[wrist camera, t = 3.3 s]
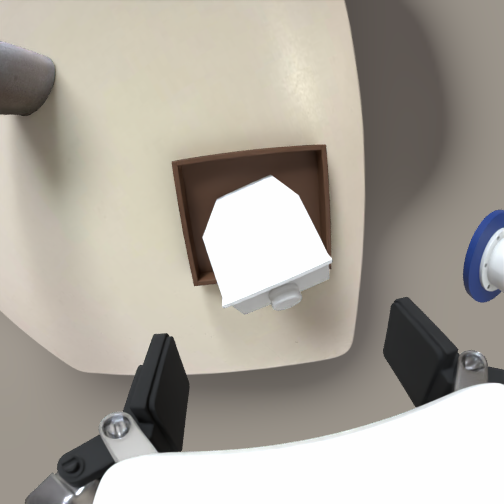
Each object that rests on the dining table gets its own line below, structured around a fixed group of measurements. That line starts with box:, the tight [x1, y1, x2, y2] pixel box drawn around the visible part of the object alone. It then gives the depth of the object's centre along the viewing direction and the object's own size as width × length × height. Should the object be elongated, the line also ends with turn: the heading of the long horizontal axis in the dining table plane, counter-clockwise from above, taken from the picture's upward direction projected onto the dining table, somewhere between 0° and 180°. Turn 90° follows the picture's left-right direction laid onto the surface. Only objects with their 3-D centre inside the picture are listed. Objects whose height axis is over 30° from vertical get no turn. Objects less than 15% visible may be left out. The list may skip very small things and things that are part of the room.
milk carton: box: [203, 175, 333, 314], centre depth 25 cm, size 7×7×19 cm
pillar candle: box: [0, 41, 55, 116], centre depth 19 cm, size 10×10×15 cm
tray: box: [172, 145, 331, 286], centre depth 33 cm, size 17×15×3 cm
